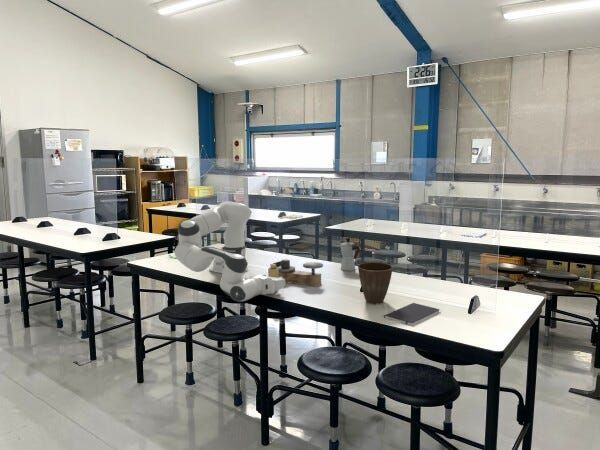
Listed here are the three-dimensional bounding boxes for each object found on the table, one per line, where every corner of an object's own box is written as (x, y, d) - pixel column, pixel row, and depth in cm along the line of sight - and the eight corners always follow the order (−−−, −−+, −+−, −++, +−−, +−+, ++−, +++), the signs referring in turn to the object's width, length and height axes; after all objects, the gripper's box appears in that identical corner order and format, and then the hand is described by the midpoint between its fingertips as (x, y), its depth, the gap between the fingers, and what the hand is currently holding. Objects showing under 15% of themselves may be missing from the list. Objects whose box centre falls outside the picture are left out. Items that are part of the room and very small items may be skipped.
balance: (272, 281, 236) (272, 261, 234) (282, 276, 244) (282, 257, 243) (317, 287, 223) (317, 266, 222) (326, 282, 232) (326, 262, 230)
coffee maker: (334, 268, 260) (334, 237, 257) (345, 265, 266) (345, 235, 263) (354, 273, 249) (354, 240, 246) (364, 270, 255) (364, 238, 252)
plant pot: (398, 301, 201) (399, 266, 198) (378, 309, 191) (379, 272, 188) (371, 294, 212) (371, 260, 209) (350, 301, 201) (350, 266, 199)
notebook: (413, 306, 196) (384, 318, 182) (413, 302, 196) (384, 315, 181) (440, 313, 187) (411, 327, 173) (440, 309, 187) (412, 323, 172)
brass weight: (266, 288, 223) (266, 264, 221) (272, 286, 227) (271, 262, 225) (275, 290, 220) (274, 266, 218) (280, 287, 225) (280, 263, 223)
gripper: (238, 288, 215) (255, 281, 227) (276, 294, 205) (291, 286, 218) (238, 275, 214) (254, 268, 226) (275, 280, 205) (290, 273, 217)
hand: (273, 277), depth 222 cm, fingers open, 8 cm apart
